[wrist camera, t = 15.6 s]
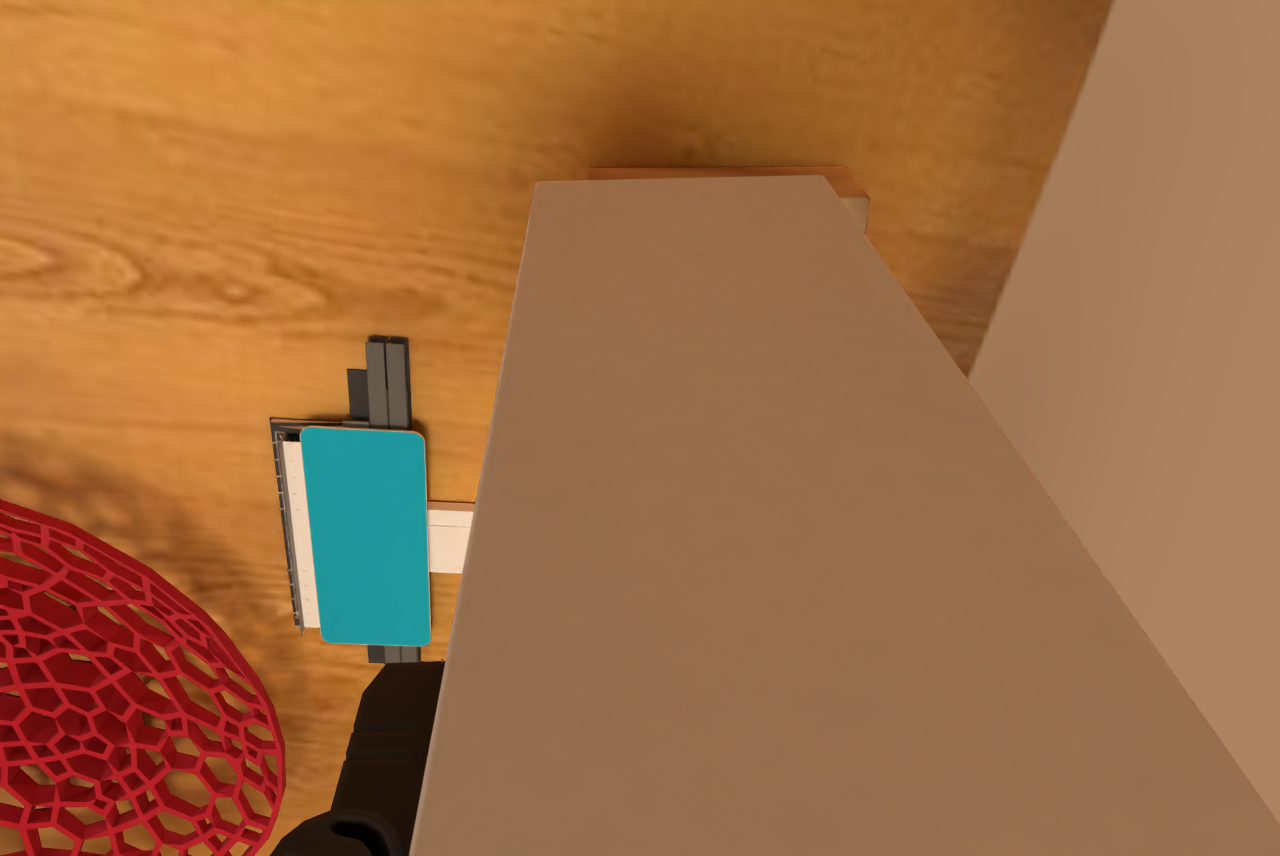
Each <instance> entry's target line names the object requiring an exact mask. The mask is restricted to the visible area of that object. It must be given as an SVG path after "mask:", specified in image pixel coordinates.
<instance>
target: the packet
mask: <svg viewBox="0 0 1280 856" xmlns="http://www.w3.org/2000/svg"><path fill="white" fill-rule="evenodd" d="M409 856H1280V824H1279V823H1278V821H1277V820H1276V818H1275V817H1274V815H1273V814H1272V812H1271V811H1270V810H1269V808H1268V807H1267V805H1266V804H1265V802H1264V801H1263V800H1262V798H1261V797H1260V795H1259V794H1258V793H1257V791H1256V790H1255V788H1254V787H1253V786H1252V784H1251V783H1250V781H1249V780H1248V778H1247V777H1246V775H1245V774H1244V773H1243V771H1242V770H1241V769H1240V767H1239V766H1238V764H1237V763H1236V761H1235V760H1234V758H1233V757H1232V756H1231V754H1230V753H1229V751H1228V750H1227V748H1226V747H1225V746H1224V744H1223V743H1222V741H1221V740H1220V738H1219V737H1218V736H1217V734H1216V733H1215V731H1214V730H1213V729H1212V727H1211V726H1210V724H1209V723H1208V721H1207V720H1206V719H1205V717H1204V716H1203V714H1202V713H1201V711H1200V710H1199V709H1198V707H1197V706H1196V704H1195V703H1194V702H1193V700H1192V699H1191V697H1190V696H1189V695H1188V693H1187V692H1186V690H1185V689H1184V687H1183V686H1182V685H1181V683H1180V682H1179V680H1178V679H1177V677H1176V676H1175V675H1174V673H1173V672H1172V670H1171V669H1170V667H1169V666H1168V665H1167V663H1166V662H1165V660H1164V659H1163V657H1162V656H1161V655H1160V653H1159V652H1158V650H1157V649H1156V648H1155V646H1154V645H1153V643H1152V642H1151V641H1150V639H1149V638H1148V636H1147V635H1146V633H1145V632H1144V631H1143V629H1142V628H1141V627H1140V625H1139V623H1138V622H1137V621H1136V619H1135V618H1134V616H1133V615H1132V614H1131V612H1130V611H1129V609H1128V608H1127V606H1126V605H1125V603H1124V602H1123V601H1122V599H1121V598H1120V596H1119V595H1118V593H1117V592H1116V591H1115V589H1114V588H1113V586H1112V585H1111V583H1110V582H1109V581H1108V579H1107V578H1106V576H1105V575H1104V574H1103V572H1102V571H1101V569H1100V568H1099V567H1098V565H1097V564H1096V562H1095V561H1094V559H1093V558H1092V557H1091V555H1090V554H1089V552H1088V551H1087V549H1086V548H1085V547H1084V545H1083V544H1082V542H1081V541H1080V539H1079V538H1078V537H1077V535H1076V534H1075V532H1074V531H1073V530H1072V528H1071V527H1070V525H1069V524H1068V523H1067V521H1066V520H1065V518H1064V517H1063V515H1062V514H1061V512H1060V511H1059V510H1058V508H1057V507H1056V505H1055V504H1054V503H1053V501H1052V500H1051V498H1050V497H1049V495H1048V494H1047V492H1046V491H1045V490H1044V488H1043V487H1042V485H1041V484H1040V483H1039V481H1038V480H1037V478H1036V477H1035V475H1034V474H1033V473H1032V471H1031V470H1030V468H1029V467H1028V465H1027V464H1026V463H1025V461H1024V460H1023V458H1022V457H1021V456H1020V454H1019V453H1018V451H1017V450H1016V449H1015V447H1014V446H1013V444H1012V443H1011V441H1010V440H1009V438H1008V437H1007V436H1006V434H1005V433H1004V432H1003V430H1002V429H1001V427H1000V426H999V424H998V423H997V422H996V420H995V419H994V417H993V416H992V415H991V413H990V411H989V410H988V409H987V407H986V406H985V404H984V403H983V401H982V400H981V399H980V397H979V396H978V394H977V393H976V392H975V390H974V389H973V387H972V386H971V384H970V383H969V382H968V380H967V379H966V377H965V376H964V374H963V373H962V372H961V370H960V369H959V367H958V366H957V364H956V363H955V362H954V360H953V359H952V357H951V356H950V355H949V353H948V352H947V350H946V349H945V347H944V346H943V345H942V343H941V342H940V340H939V339H938V337H937V336H936V335H935V333H934V332H933V330H932V329H931V328H930V326H929V325H928V323H927V322H926V320H925V319H924V318H923V316H922V315H921V313H920V312H919V310H918V309H917V308H916V306H915V305H914V303H913V302H912V301H911V299H910V298H909V296H908V295H907V293H906V292H905V291H904V289H903V288H902V286H901V285H900V283H899V282H898V281H897V279H896V278H895V276H894V275H893V273H892V272H891V271H890V269H889V268H888V266H887V265H886V264H885V262H884V261H883V259H882V258H881V256H880V255H879V254H878V252H877V251H876V249H875V248H874V246H873V245H872V244H871V242H870V241H869V239H868V238H867V237H866V235H865V234H864V232H863V231H862V229H861V228H860V227H859V225H858V224H857V222H856V221H855V219H854V218H853V217H852V215H851V214H850V212H849V211H848V209H847V208H846V207H845V205H844V204H843V202H842V201H841V200H840V198H839V197H838V195H837V194H836V192H835V191H834V190H833V188H832V187H831V185H830V184H829V182H828V181H827V180H826V178H825V177H824V176H823V175H797V176H753V177H708V178H664V179H619V180H575V181H538V182H536V184H535V188H534V194H533V199H532V204H531V209H530V215H529V220H528V225H527V231H526V236H525V241H524V247H523V252H522V257H521V263H520V268H519V273H518V279H517V284H516V289H515V295H514V300H513V305H512V310H511V316H510V321H509V326H508V332H507V337H506V342H505V348H504V353H503V358H502V364H501V369H500V374H499V380H498V385H497V390H496V396H495V401H494V406H493V411H492V417H491V422H490V427H489V433H488V438H487V443H486V449H485V454H484V459H483V465H482V470H481V475H480V481H479V486H478V491H477V497H476V502H475V507H474V512H473V518H472V523H471V528H470V534H469V539H468V544H467V550H466V555H465V560H464V566H463V571H462V576H461V582H460V587H459V592H458V598H457V603H456V608H455V613H454V619H453V624H452V629H451V635H450V640H449V645H448V651H447V656H446V661H445V667H444V672H443V677H442V683H441V688H440V693H439V699H438V704H437V709H436V714H435V720H434V725H433V730H432V736H431V741H430V746H429V752H428V757H427V762H426V768H425V773H424V778H423V784H422V789H421V794H420V800H419V805H418V810H417V815H416V821H415V826H414V831H413V837H412V842H411V847H410V853H409Z"/></svg>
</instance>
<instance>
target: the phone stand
mask: <svg viewBox="0 0 1280 856" xmlns="http://www.w3.org/2000/svg"><path fill="white" fill-rule="evenodd" d="M390 342H391V344H388V337H373V336H370V343H369V342H365V346H366V361H367V370H354V369H347V375H348V389H349V402H350V416H351V420H342V421H323V420H304V419H286V418H270V425H271V433H272V443H271V444H273V450H274V458H275V460H273V461H275V466H276V474H277V476H276V477H277V482H278V491H279V493H277V494H279V499H280V507H281V509H279V510H281V515H282V523H283V531H284V540H285V548H286V556H287V564H288V570H287V571H288V572H289V580H290V585H289V586H290V588H291V597H292V599H291V600H292V605H293V613H292V614H294V621H295V625H299V626H300V630H301V637H302V634H304V629H305V627H309V628H311V629H312V627H315V628H320V633H321V637H322V639H323V640H325V641H326V642H329V643H336V644H363V645H368V658H369V663H384V664H386V663H403V662H421V654H420V647H422V646H426V645H428V644H429V643H430V641H431V613H430V581H429V572H439V573H462V571H463V566H464V560H465V555H466V550H467V544H468V539H469V534H470V528H471V523H472V518H473V512H474V507H475V504H472V503H452V502H431V501H427V482H426V450H425V439H424V437H423V436H422V435H421V434H420V433H418V432H415V431H412V419H411V393H410V373H409V351H408V339H406V338H390ZM294 433H295V435H296V442H295V439H294ZM299 626H295V627H299ZM295 627H294V628H295Z"/></svg>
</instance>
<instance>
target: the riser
mask: <svg viewBox="0 0 1280 856" xmlns="http://www.w3.org/2000/svg"><path fill="white" fill-rule="evenodd" d="M797 175H823V176H824V177H825V178H826V180H827V181H828V182H829V184H830V185H831V187H832V188H833V190H834V191H835V192H836V194H837V195H838V197H839V198H840V200H841V201H842V202H843V204H844V205H845V207H846V208H847V209H848V211H849V212H850V214H851V215H852V217H853V218H854V219H855V221H856V222H857V224H858V225H859V227H860V228H861V229H862V231H863V232H864V234H865V235H866V228H867V220H868V212H869V204H870V197H869V196H868V195H867V193H866V192H865V191H864V189H863V188H862V187H861V185H860V184H859V183H858V182H857V180H856V179H855V178H854V176H853V175H852V174H851V173H850V171H849V170H848V169H847V167H845V166H792V167H670V168H588V169H587V175H586V180H619V179H664V178H708V177H753V176H797Z"/></svg>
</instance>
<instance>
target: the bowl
mask: <svg viewBox="0 0 1280 856" xmlns="http://www.w3.org/2000/svg"><path fill="white" fill-rule="evenodd" d="M0 512H3V513H6V514H9V515H12V516H15V517H18V518H21V519H24V520H28V521H31V522H34V523H37V524H34V523H30V522H25V521H21V520H17V519H14V518H11V517H9V516H6V515H4V514H2V513H0V533H1V534H4V535H6V536H8V537H10V538H12V539H7V538H2V537H0V551H2V552H11V553H15V554H17V555H19V556H20V557H22V558H24V559H26V560H27V561H29V562H31V563H33V564H34V565H36V566H38V567H40V568H42V569H43V570H40V569H37V568H33V567H30V566H26V565H23V564H19V563H16V562H13V561H10V560H8V559H5V558H3V557H0V662H4V663H7V665H8V668H3V669H0V787H3V788H5V789H6V790H7V791H8V792H9V793H10V794H11V795H13V796H14V797H15V798H16V799H17V800H18V801H20V802H21V803H22V804H23V805H24V806H25V807H24V808H21V807H17V806H13V805H8V804H4V803H0V826H4V827H9V828H14V829H18V830H19V832H20V835H21V838H22V840H23V843H24V846H25V849H26V850H24V851H20V852H15V853H10V854H6V855H1V856H162V855H161V853H160V849H161V846H162V844H166V845H168V846H171V847H173V848H176V849H178V850H179V856H191V855H189V854H187V853H188V848H190V847H192V846H195V845H197V844H199V843H201V842H204V843H205V844H206V845H207V846H208V847H209V848H210V850H211V851H212V852H213V854H212V855H211V856H232V855H231V854H230V852H229V850H230V849H231V848H232V846H233V845H234V844H235V843H236V842H237V841H240V842H242V843H245V844H248V845H251V846H250V847H249V848H248V849H247V850H246V851H245V853H244V854H243V855H242V856H254V855H255V854H256V853H257V852H258V850H259V849H260V848H261V847H262V846H263V845H264V843H265V842H266V841H267V840H268V839H269V837H270V834H271V832H272V829H273V827H274V824H275V822H276V819H277V816H278V812H279V809H280V805H281V801H282V798H283V794H284V790H285V787H286V771H285V743H284V740H283V736H282V733H281V729H280V725H279V722H278V718H277V715H276V711H275V708H274V705H273V703H272V702H271V700H270V698H269V696H268V694H267V692H266V690H265V689H264V687H263V685H262V683H261V681H260V679H259V677H258V676H257V675H256V673H255V672H254V671H253V669H252V668H251V667H250V665H249V664H248V663H247V661H246V660H245V659H244V657H243V656H242V655H241V653H240V652H239V650H238V649H237V648H236V646H235V645H234V644H233V642H232V641H231V640H230V638H229V637H228V636H227V634H226V633H225V632H224V631H223V630H222V629H221V628H220V627H219V626H218V624H217V623H216V622H215V621H214V620H213V619H212V618H211V617H210V616H209V615H208V614H207V613H206V612H205V611H204V610H203V609H202V608H200V607H199V606H198V605H197V604H195V603H194V602H193V601H192V600H190V599H189V598H188V597H186V596H185V595H184V594H183V593H181V592H180V591H179V590H178V589H176V588H175V587H174V586H173V585H171V584H170V583H169V582H167V581H166V580H165V579H164V578H162V577H161V576H160V575H159V574H157V573H156V572H155V571H154V570H152V569H151V568H149V567H148V566H146V565H144V564H142V563H141V562H139V561H137V560H135V559H133V558H132V557H130V556H128V555H126V554H125V553H123V552H121V551H119V550H118V549H116V548H114V547H112V546H110V545H109V544H107V543H105V542H103V541H102V540H100V539H98V538H96V537H94V536H93V535H91V534H89V533H87V532H86V531H84V530H82V529H80V528H79V527H77V526H75V525H73V524H71V523H68V522H65V521H63V520H60V519H57V518H54V517H51V516H48V515H45V514H42V513H39V512H36V511H33V510H30V509H27V508H24V507H21V506H18V505H15V504H12V503H9V502H7V501H4V500H1V499H0ZM38 524H40V525H38ZM59 543H60V544H59ZM61 544H62V545H65V546H68V547H71V548H73V549H76V550H79V551H80V552H81V553H83V554H84V555H85V556H87V557H88V558H89V559H91V560H92V561H93V562H95V563H96V564H95V563H93V562H90V561H88V560H85V559H83V558H80V557H77V556H75V555H73V554H72V553H70V552H69V551H68V550H67V549H66V548H64V547H63V546H62V545H61ZM33 545H35V546H38V547H41V548H44V549H45V550H46V551H47V552H48V553H50V554H51V555H52V556H51V555H49V554H48V553H46V552H44V551H42V550H40V549H39V548H37V547H35V546H33ZM113 560H114V561H115V562H114V561H113ZM116 562H117V563H119V564H121V565H122V566H124V567H126V568H128V569H129V570H128V569H126V568H124V567H122V566H120V565H118V564H117V563H116ZM44 570H45V571H44ZM130 570H131V571H130ZM132 571H133V572H135V573H136V574H135V573H133V572H132ZM84 574H85V575H87V576H90V577H93V578H96V579H99V580H102V581H104V582H105V583H106V584H108V585H109V586H110V587H111V588H112V589H114V590H108V589H106V588H105V587H103V586H102V585H100V584H98V583H97V582H95V581H93V580H92V579H90V578H89V577H87V576H85V575H84ZM137 574H138V575H137ZM139 575H140V576H139ZM129 584H130V585H132V586H134V587H136V588H138V589H140V590H142V591H144V592H142V591H136V590H135V589H134V588H133V587H132V586H130V585H129ZM44 591H46V592H48V593H50V594H52V595H55V596H57V597H59V598H61V599H63V600H65V601H67V602H69V603H71V604H73V605H75V606H76V608H77V610H78V611H75V610H73V609H71V608H69V607H67V606H65V605H63V604H62V603H60V602H58V601H56V600H54V599H52V598H50V597H48V596H47V595H45V593H44ZM126 604H133V605H134V606H136V607H137V608H139V609H141V610H142V611H144V612H146V613H147V614H149V615H150V616H152V617H154V618H155V619H157V620H159V621H160V622H161V623H162V624H163V625H164V626H165V627H166V629H167V630H168V631H169V632H170V633H171V634H172V635H173V636H174V637H172V636H171V635H169V634H167V633H165V632H163V631H161V630H159V629H158V628H156V627H154V626H152V625H150V624H148V623H146V622H145V621H144V620H143V619H141V618H140V617H139V616H138V615H137V614H136V613H135V612H134V611H133V610H131V609H130V608H129V607H128V606H127V605H126ZM97 606H103V607H104V608H105V609H106V610H108V611H109V612H110V613H111V614H112V615H113V616H114V617H115V618H117V619H118V620H119V621H120V622H121V623H122V624H123V625H125V626H126V627H127V628H128V629H129V630H128V629H125V628H123V627H121V626H119V625H118V624H116V623H115V622H114V621H112V620H111V619H109V618H108V617H107V616H105V615H104V614H102V613H101V612H99V611H98V608H97ZM213 639H215V640H216V641H217V643H218V644H219V645H220V646H219V645H218V644H217V643H216V642H215V641H214V640H213ZM150 642H151V643H153V644H156V645H158V646H160V647H163V648H164V650H165V652H166V653H167V655H168V657H169V659H170V660H165V659H164V658H163V657H162V656H161V654H160V653H159V652H158V651H157V650H156V648H155V647H154V646H153V645H152V644H151V643H150ZM180 645H182V646H183V647H185V648H186V649H187V650H189V651H190V652H192V653H193V654H194V655H196V656H197V657H198V658H200V659H201V660H203V661H204V662H205V663H207V664H208V665H209V666H210V667H211V669H212V670H213V672H214V673H215V675H216V676H217V677H218V679H215V680H213V679H212V678H211V677H209V676H208V675H206V674H205V673H204V672H202V671H201V670H199V669H198V668H196V667H195V666H194V665H192V664H191V663H189V662H188V661H187V660H186V658H185V656H184V654H183V652H182V650H181V648H180ZM67 653H71V654H78V655H86V656H87V657H88V658H89V659H90V660H91V661H92V662H93V663H94V664H90V663H84V662H78V661H72V660H70V658H69V657H68V655H67ZM35 662H37V663H35ZM224 668H227V669H229V670H231V671H232V672H233V673H235V674H236V675H237V676H238V677H240V678H241V679H242V680H244V681H245V682H246V683H248V684H249V685H250V686H251V687H252V688H253V690H254V692H255V694H256V695H252V694H251V693H249V692H248V691H247V690H245V689H244V688H243V687H241V686H240V685H239V684H237V683H236V682H234V681H233V680H232V679H230V677H229V676H228V674H227V672H226V670H225V669H224ZM135 672H137V673H140V674H144V675H147V676H150V677H154V678H157V680H158V681H159V683H160V684H161V686H162V687H163V689H164V690H165V692H166V693H167V695H168V696H169V698H170V699H171V700H169V699H167V698H165V697H163V696H162V695H160V694H158V693H156V692H154V691H152V690H150V689H148V688H147V687H146V685H145V684H144V683H143V682H142V680H141V679H140V678H139V677H138V676H137V674H136V673H135ZM178 675H182V676H183V677H185V678H186V679H188V680H190V681H191V682H193V683H194V684H196V685H197V686H199V687H201V688H202V689H204V690H205V691H207V692H208V693H209V694H210V696H211V698H212V699H213V701H214V703H215V705H216V706H217V708H218V710H219V712H220V713H221V718H220V717H219V716H217V715H215V714H213V713H212V712H210V711H208V710H207V709H205V708H203V707H201V706H200V705H198V704H196V703H194V702H193V701H191V700H190V698H189V697H188V695H187V694H186V692H185V690H184V689H183V687H182V686H181V684H180V682H179V681H178V679H177V677H176V676H178ZM15 690H17V691H18V693H19V695H20V697H21V698H19V697H14V696H10V695H6V694H1V693H4V692H9V691H15ZM224 690H226V691H227V692H229V693H230V694H232V695H233V696H234V697H236V698H237V699H238V700H240V701H241V702H243V703H244V704H245V705H247V707H248V708H249V710H250V712H247V713H245V714H243V713H241V712H240V711H238V710H237V709H235V708H234V707H232V706H230V705H229V704H227V703H226V701H225V699H224V698H223V696H222V694H221V691H224ZM259 709H260V710H264V711H265V714H266V715H265V714H262V713H261V711H260V710H259ZM140 710H142V711H144V712H146V713H149V714H151V715H153V716H155V717H158V718H160V719H162V720H164V722H165V726H166V730H164V729H160V728H155V727H151V726H146V725H144V721H143V718H142V714H141V711H140ZM40 714H42V715H46V716H49V717H52V718H42V716H41V715H40ZM115 716H116V717H117V718H116V717H115ZM118 718H119V719H120V720H121V721H120V720H119V719H118ZM228 720H229V721H230V722H229V721H228ZM122 721H123V722H122ZM231 722H232V723H231ZM196 723H198V724H200V725H202V726H204V727H207V728H209V729H211V730H213V731H215V732H218V735H219V737H220V740H221V742H218V741H212V740H209V739H208V738H207V737H206V735H205V734H204V733H203V731H202V730H201V729H200V728H199V726H198V725H197V724H196ZM233 723H234V724H233ZM254 723H258V724H259V725H261V726H263V727H265V728H266V729H268V730H270V731H271V732H272V735H273V739H274V741H263V740H261V739H260V738H258V737H256V736H255V735H253V734H252V733H250V732H248V729H247V726H249V725H252V724H254ZM235 724H236V725H235ZM237 725H238V726H237ZM170 736H175V737H189V738H190V739H191V741H192V742H193V744H194V745H195V746H196V748H197V749H198V750H199V752H200V756H199V757H197V756H192V755H188V754H184V753H180V752H177V751H176V748H175V746H174V744H173V741H172V739H171V737H170ZM231 738H232V739H234V740H236V741H239V742H240V743H241V746H242V750H243V751H242V750H240V749H239V748H237V747H235V746H233V745H232V742H231ZM124 747H127V748H130V752H131V753H130V754H127V753H126V751H125V749H124ZM145 750H151V751H158V752H160V753H161V756H162V758H163V761H162V762H161V763H160V764H159V765H158V766H157V765H156V764H155V763H154V762H153V760H152V759H151V758H150V757H149V755H148V754H147V753H146V752H145ZM264 754H267V755H277V776H276V775H275V774H274V773H273V772H272V771H271V770H269V768H268V765H267V762H266V759H265V757H264ZM206 756H210V757H219V758H226V760H227V761H228V763H229V764H230V765H231V767H232V768H233V770H234V771H235V772H236V774H237V775H238V777H237V780H236V784H235V785H233V784H228V783H223V782H219V781H218V780H217V778H216V777H215V775H214V774H213V772H212V771H211V770H210V768H209V767H208V765H207V764H206V762H205V761H204V760H205V758H206ZM245 758H247V759H248V760H250V761H251V762H253V763H254V764H256V765H257V766H259V767H260V769H261V772H262V775H263V777H262V776H261V775H259V774H258V773H256V772H255V771H253V770H252V769H250V768H248V767H247V766H246V761H245ZM30 764H37V765H38V766H39V767H40V768H41V769H42V770H43V771H44V772H45V773H46V774H47V775H48V776H49V777H50V778H51V779H52V780H53V781H54V782H55V783H56V785H39V784H38V783H36V782H35V781H34V780H33V779H32V778H31V777H30V776H28V775H27V774H26V773H25V772H24V771H23V770H22V769H20V765H30ZM172 769H175V770H180V771H184V772H189V773H193V774H196V775H197V777H198V778H199V779H200V780H201V782H202V783H203V784H204V786H205V787H206V788H207V789H208V791H209V792H210V793H211V796H210V800H209V803H208V804H207V805H205V806H203V807H201V808H199V807H197V806H195V805H193V804H191V803H189V802H187V801H185V800H182V799H180V798H178V797H176V796H174V795H172V794H170V792H169V790H168V787H167V785H166V783H165V781H164V779H163V777H164V776H165V775H166V774H168V773H169V772H170V771H171V770H172ZM71 776H75V777H78V778H81V779H83V780H86V781H89V782H92V783H94V785H95V786H93V787H92V788H88V787H83V786H77V785H72V784H70V777H71ZM113 779H117V780H118V782H119V783H120V784H119V783H114V782H111V780H113ZM243 781H245V782H246V783H248V784H250V785H251V786H253V787H254V788H256V789H257V790H259V791H260V792H262V793H264V795H265V797H266V799H267V801H268V802H269V804H270V806H271V808H272V810H273V811H272V815H271V818H270V817H266V816H263V815H259V814H256V813H254V811H253V810H252V808H251V806H250V804H249V802H248V800H247V799H246V797H245V795H244V793H243V791H242V790H241V788H242V784H243ZM148 789H150V790H151V792H152V794H153V796H154V797H155V799H154V800H152V801H151V802H149V800H148V797H147V794H146V791H147V790H148ZM273 790H274V791H276V792H277V796H276V794H275V792H274V791H273ZM216 797H232V799H233V801H234V803H235V804H236V806H237V808H238V810H239V812H240V814H241V815H242V817H243V820H242V821H241V823H240V824H239V826H238V825H235V824H233V823H230V822H228V821H226V820H223V819H221V816H220V814H219V812H218V810H217V808H216V805H215V800H216ZM127 799H130V800H131V802H132V804H133V807H134V809H133V810H131V811H128V812H126V813H123V814H121V815H119V812H118V809H117V806H116V801H121V800H127ZM36 806H47V807H51V808H40V809H35V807H36ZM65 807H88V808H89V809H91V810H93V811H95V812H96V813H98V814H100V815H102V816H103V817H105V818H106V820H102V821H99V822H95V823H92V824H88V825H85V824H84V823H83V822H82V821H80V820H79V819H78V818H76V817H75V816H74V815H73V814H71V813H70V812H69V811H67V810H66V809H65ZM162 811H166V812H168V813H171V814H173V815H176V816H178V817H181V818H183V819H186V820H188V821H190V822H191V823H192V824H193V826H194V828H195V830H196V831H194V832H192V833H190V834H188V835H186V836H185V835H181V834H178V833H175V832H172V831H169V830H166V829H165V828H164V826H163V825H162V823H161V821H160V820H159V818H158V817H157V814H159V813H161V812H162ZM206 818H208V819H209V820H210V822H211V823H210V824H208V825H207V823H206V820H205V819H206ZM140 823H142V824H143V825H144V827H145V828H146V829H147V831H148V832H149V833H150V834H151V836H152V837H153V838H154V839H155V841H156V845H155V847H154V849H153V850H140V849H138V848H136V847H133V846H131V845H129V844H127V843H125V842H124V837H123V830H125V829H128V828H130V827H133V826H135V825H138V824H140ZM246 825H250V826H253V827H256V828H259V829H262V830H263V831H262V833H261V834H260V833H257V832H255V831H252V830H249V829H246V828H245V826H246ZM46 827H54V828H55V829H57V830H59V831H60V832H62V833H63V834H65V835H66V836H68V837H69V838H71V839H72V840H74V841H75V844H74V846H73V849H72V850H63V849H52V848H42V845H41V841H40V837H39V833H38V829H37V828H46ZM216 833H219V834H222V835H224V836H226V837H227V838H226V839H225V840H224V841H223V842H221V841H220V840H219V839H218V837H217V836H216V835H215V834H216ZM104 836H109V838H110V841H111V845H112V849H111V850H110V851H109V852H107V853H106V854H105V855H102V854H95V853H89V852H82V851H81V848H82V845H83V843H84V840H86V839H92V838H98V837H104Z"/></svg>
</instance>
